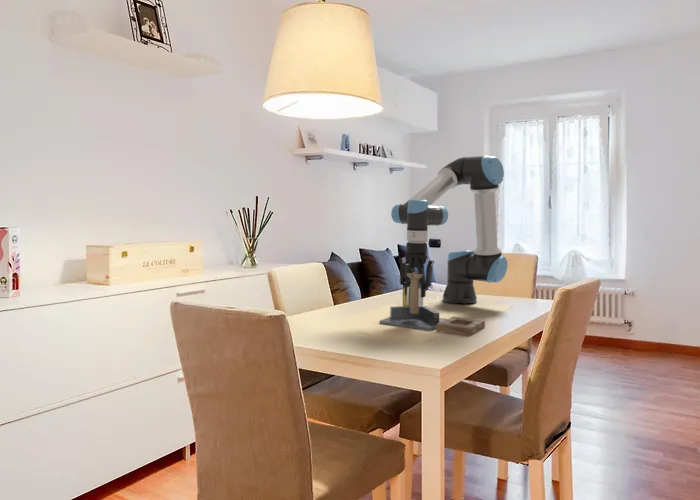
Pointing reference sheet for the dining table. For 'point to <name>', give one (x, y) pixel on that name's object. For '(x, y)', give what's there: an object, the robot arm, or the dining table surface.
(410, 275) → the handle
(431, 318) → the v cradle
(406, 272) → the sauce bottle
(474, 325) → the walnut collar
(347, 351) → the dining table surface
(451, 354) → the dining table surface
